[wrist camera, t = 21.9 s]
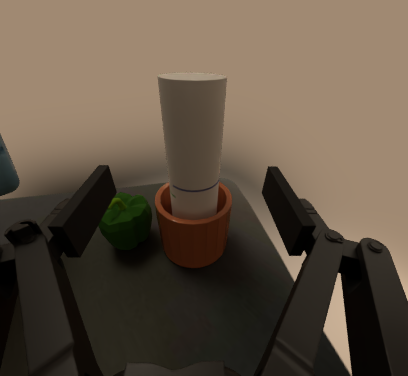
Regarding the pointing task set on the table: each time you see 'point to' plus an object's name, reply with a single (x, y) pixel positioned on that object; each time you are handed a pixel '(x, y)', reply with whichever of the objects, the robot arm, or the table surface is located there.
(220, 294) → the table surface
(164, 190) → the crock
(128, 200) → the bell pepper
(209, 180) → the cylindrical container
